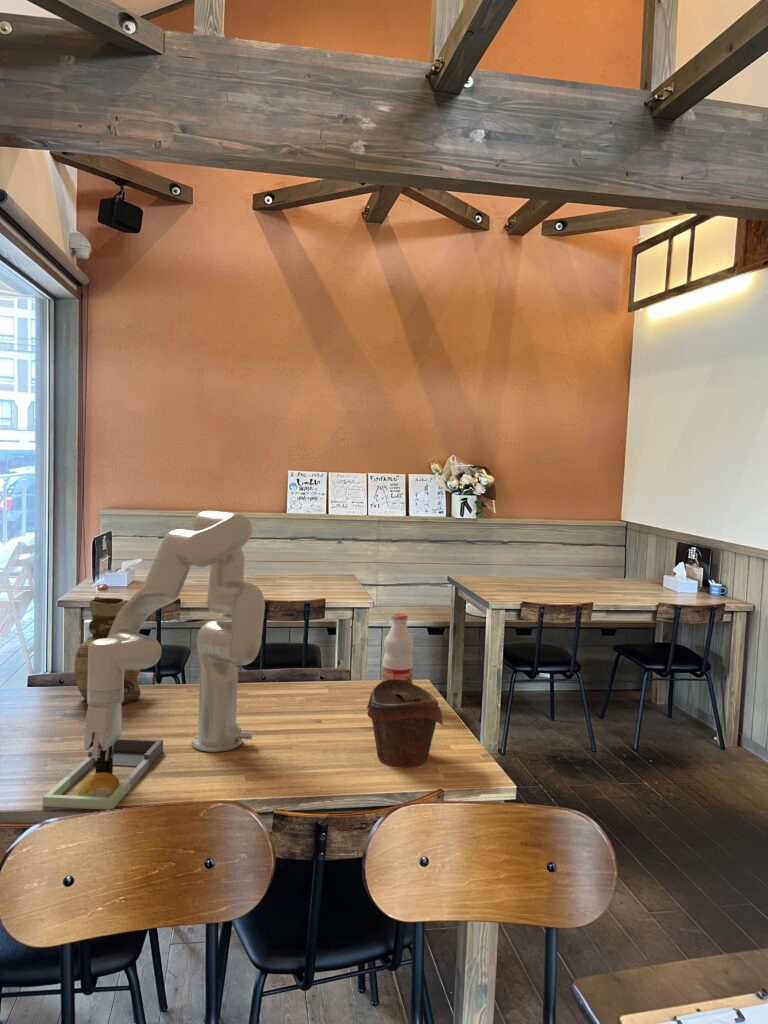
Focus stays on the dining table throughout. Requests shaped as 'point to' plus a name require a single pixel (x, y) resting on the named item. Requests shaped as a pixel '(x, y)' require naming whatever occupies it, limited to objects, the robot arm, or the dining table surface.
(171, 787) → the dining table surface
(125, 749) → the channel
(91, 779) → the bread roll
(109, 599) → the ceramic vessel
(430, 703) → the brown trash bin
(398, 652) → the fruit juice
